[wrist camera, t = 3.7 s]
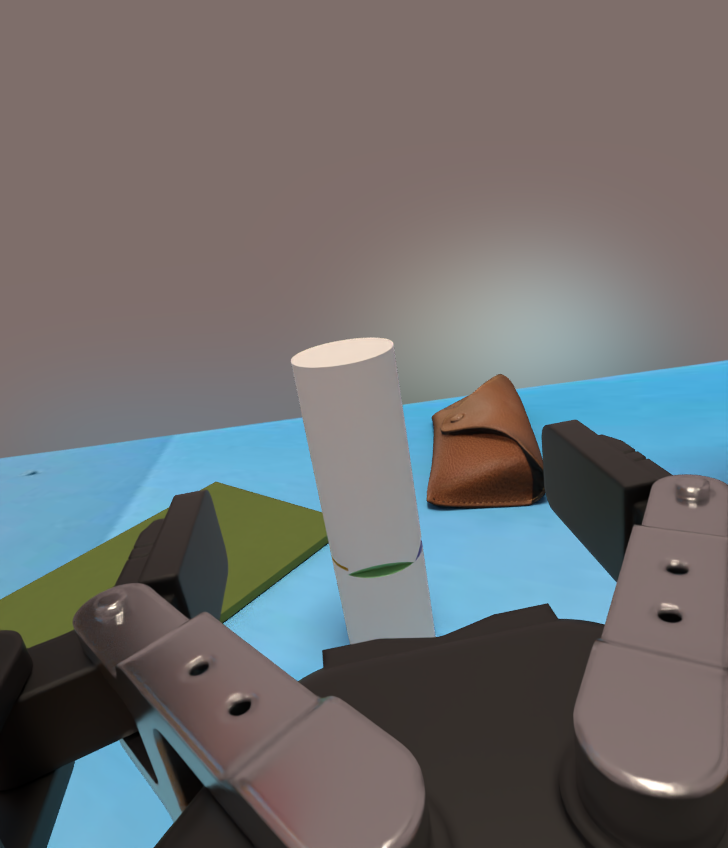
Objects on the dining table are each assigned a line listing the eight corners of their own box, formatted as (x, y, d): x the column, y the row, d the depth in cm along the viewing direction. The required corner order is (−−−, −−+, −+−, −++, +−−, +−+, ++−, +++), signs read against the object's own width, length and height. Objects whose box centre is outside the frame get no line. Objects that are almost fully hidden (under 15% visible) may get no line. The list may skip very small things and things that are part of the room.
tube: (333, 651, 29) (269, 364, 24) (385, 602, 32) (338, 336, 27) (402, 686, 27) (346, 370, 21) (452, 628, 30) (414, 338, 24)
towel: (217, 487, 50) (215, 481, 50) (349, 527, 40) (347, 519, 40) (-59, 641, 36) (-63, 633, 35) (44, 759, 26) (39, 749, 26)
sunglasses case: (426, 413, 57) (455, 352, 54) (492, 441, 57) (525, 381, 55) (424, 507, 40) (466, 425, 38) (517, 545, 40) (566, 466, 38)
